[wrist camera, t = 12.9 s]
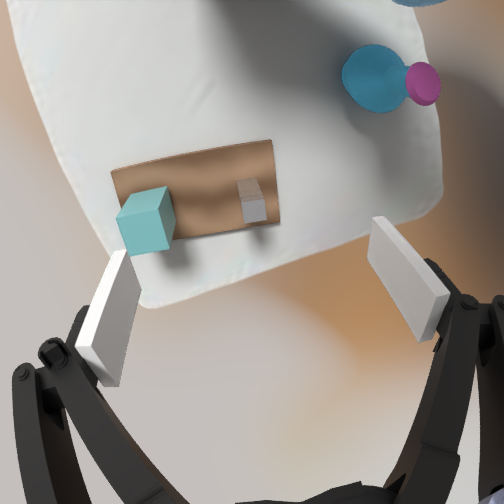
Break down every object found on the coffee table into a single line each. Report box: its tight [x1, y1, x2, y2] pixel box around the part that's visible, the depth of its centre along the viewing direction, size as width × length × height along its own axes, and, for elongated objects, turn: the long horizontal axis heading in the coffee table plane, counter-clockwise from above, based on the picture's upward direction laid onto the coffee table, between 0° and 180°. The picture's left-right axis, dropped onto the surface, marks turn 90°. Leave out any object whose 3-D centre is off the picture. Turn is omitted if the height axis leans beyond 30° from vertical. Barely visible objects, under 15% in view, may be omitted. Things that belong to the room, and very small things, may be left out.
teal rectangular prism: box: [116, 186, 176, 257], centre depth 37 cm, size 5×5×8 cm
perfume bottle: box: [342, 45, 441, 113], centre depth 29 cm, size 9×9×15 cm
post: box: [237, 177, 267, 224], centre depth 38 cm, size 3×3×8 cm
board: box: [111, 140, 280, 240], centre depth 42 cm, size 12×22×1 cm, turn 97°
